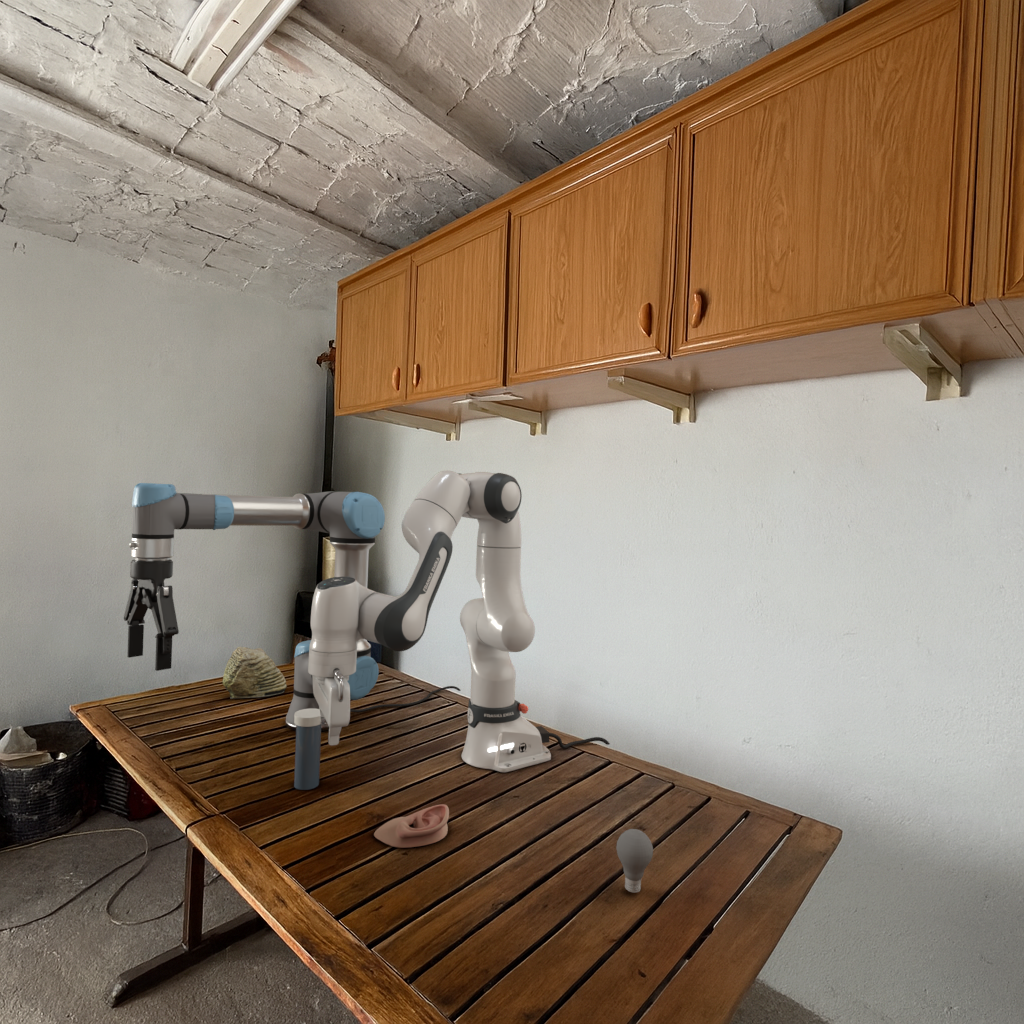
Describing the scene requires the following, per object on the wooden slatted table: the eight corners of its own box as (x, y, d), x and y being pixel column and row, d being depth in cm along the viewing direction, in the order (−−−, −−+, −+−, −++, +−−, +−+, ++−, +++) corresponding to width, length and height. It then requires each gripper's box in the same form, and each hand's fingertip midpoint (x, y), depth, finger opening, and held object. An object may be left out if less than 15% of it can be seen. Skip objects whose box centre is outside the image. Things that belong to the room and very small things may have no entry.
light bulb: (610, 879, 108) (613, 822, 108) (644, 879, 109) (647, 822, 109) (619, 902, 102) (622, 840, 102) (655, 901, 103) (658, 840, 103)
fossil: (218, 695, 195) (220, 647, 195) (278, 685, 208) (279, 640, 207) (228, 703, 189) (230, 653, 188) (289, 692, 201) (290, 645, 201)
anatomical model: (367, 821, 116) (391, 793, 128) (366, 843, 116) (391, 813, 128) (436, 832, 114) (455, 803, 125) (435, 854, 114) (454, 822, 125)
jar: (316, 777, 143) (318, 709, 142) (321, 787, 138) (324, 717, 138) (291, 782, 140) (294, 712, 140) (296, 792, 135) (299, 720, 135)
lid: (319, 715, 143) (320, 706, 143) (326, 724, 138) (327, 715, 138) (291, 719, 140) (291, 710, 140) (297, 728, 135) (297, 719, 135)
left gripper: (108, 554, 134) (104, 654, 134) (159, 565, 118) (155, 678, 119) (146, 552, 140) (143, 648, 140) (199, 563, 124) (195, 671, 124)
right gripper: (360, 676, 113) (356, 753, 113) (340, 649, 131) (336, 716, 131) (324, 678, 110) (320, 757, 110) (308, 651, 129) (304, 719, 129)
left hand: (148, 662), depth 129 cm, fingers open, 13 cm apart
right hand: (328, 734), depth 121 cm, fingers open, 8 cm apart
